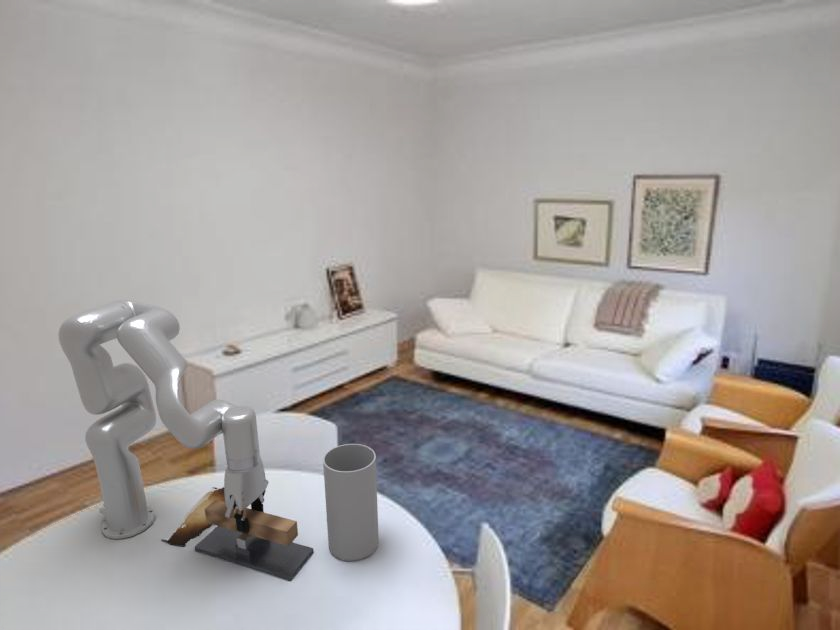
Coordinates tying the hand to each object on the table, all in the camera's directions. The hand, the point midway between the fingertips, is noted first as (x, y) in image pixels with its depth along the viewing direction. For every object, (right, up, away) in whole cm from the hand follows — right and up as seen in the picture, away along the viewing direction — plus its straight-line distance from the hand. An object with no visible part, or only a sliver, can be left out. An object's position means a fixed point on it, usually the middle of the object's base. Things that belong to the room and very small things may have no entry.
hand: (250, 523), depth 132 cm
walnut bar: (0, -2, 0) cm, 2 cm away
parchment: (-18, -4, +16) cm, 25 cm away
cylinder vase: (+25, -7, +5) cm, 26 cm away
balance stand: (0, -8, +2) cm, 8 cm away
